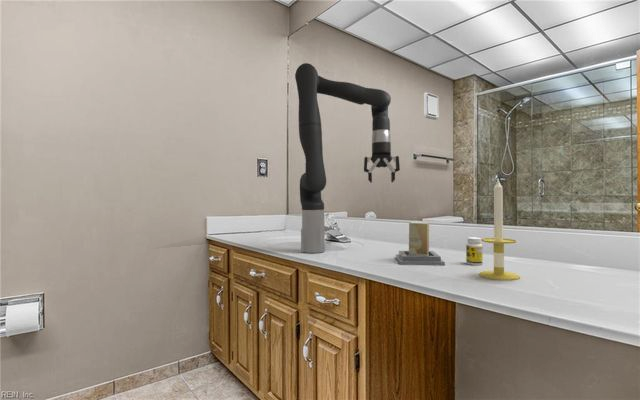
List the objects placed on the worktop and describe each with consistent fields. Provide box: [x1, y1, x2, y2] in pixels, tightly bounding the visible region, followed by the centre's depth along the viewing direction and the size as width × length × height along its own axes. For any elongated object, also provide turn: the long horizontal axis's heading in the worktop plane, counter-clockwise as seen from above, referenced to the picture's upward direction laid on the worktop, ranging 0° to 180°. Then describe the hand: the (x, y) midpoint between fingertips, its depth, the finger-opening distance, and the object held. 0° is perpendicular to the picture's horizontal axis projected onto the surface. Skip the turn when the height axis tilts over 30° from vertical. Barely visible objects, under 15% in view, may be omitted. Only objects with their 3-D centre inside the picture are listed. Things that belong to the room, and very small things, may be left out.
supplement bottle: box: [465, 236, 483, 266], centre depth 109 cm, size 5×5×8 cm
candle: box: [478, 179, 521, 281], centre depth 92 cm, size 10×10×27 cm
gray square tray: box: [395, 250, 446, 266], centre depth 115 cm, size 14×14×2 cm
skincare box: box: [408, 221, 430, 256], centre depth 115 cm, size 6×4×12 cm
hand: (381, 182), depth 136 cm, fingers open, 8 cm apart
